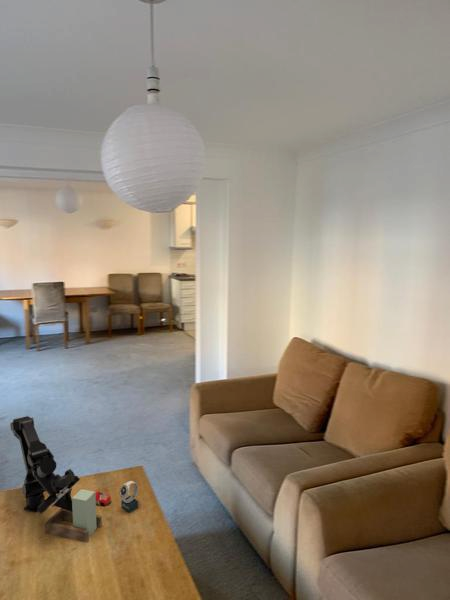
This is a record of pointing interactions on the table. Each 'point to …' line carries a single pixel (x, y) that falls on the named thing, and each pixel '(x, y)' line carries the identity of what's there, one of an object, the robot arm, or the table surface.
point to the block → (84, 510)
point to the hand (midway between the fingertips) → (73, 510)
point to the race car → (102, 498)
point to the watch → (129, 502)
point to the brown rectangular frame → (67, 531)
